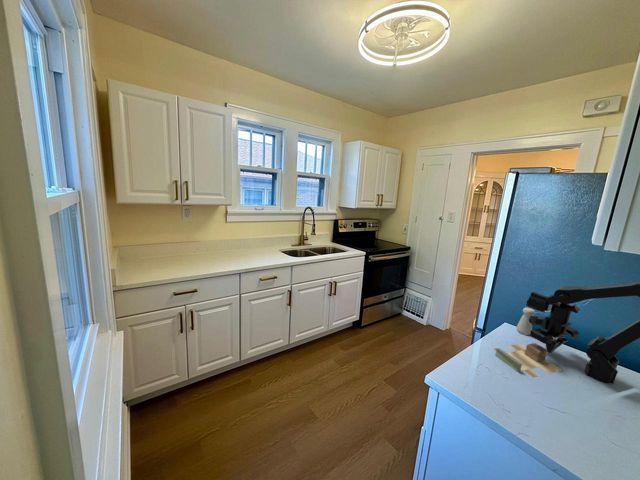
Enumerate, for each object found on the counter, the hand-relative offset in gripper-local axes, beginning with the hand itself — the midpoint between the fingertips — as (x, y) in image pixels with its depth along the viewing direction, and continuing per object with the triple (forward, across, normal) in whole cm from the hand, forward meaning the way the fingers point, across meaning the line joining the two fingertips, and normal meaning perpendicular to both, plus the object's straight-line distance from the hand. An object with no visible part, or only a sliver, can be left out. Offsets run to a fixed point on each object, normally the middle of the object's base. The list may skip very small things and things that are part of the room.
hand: (548, 352), depth 105 cm
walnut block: (+1, +8, 0) cm, 8 cm away
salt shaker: (+2, -6, -14) cm, 16 cm away
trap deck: (+2, +13, 0) cm, 13 cm away
